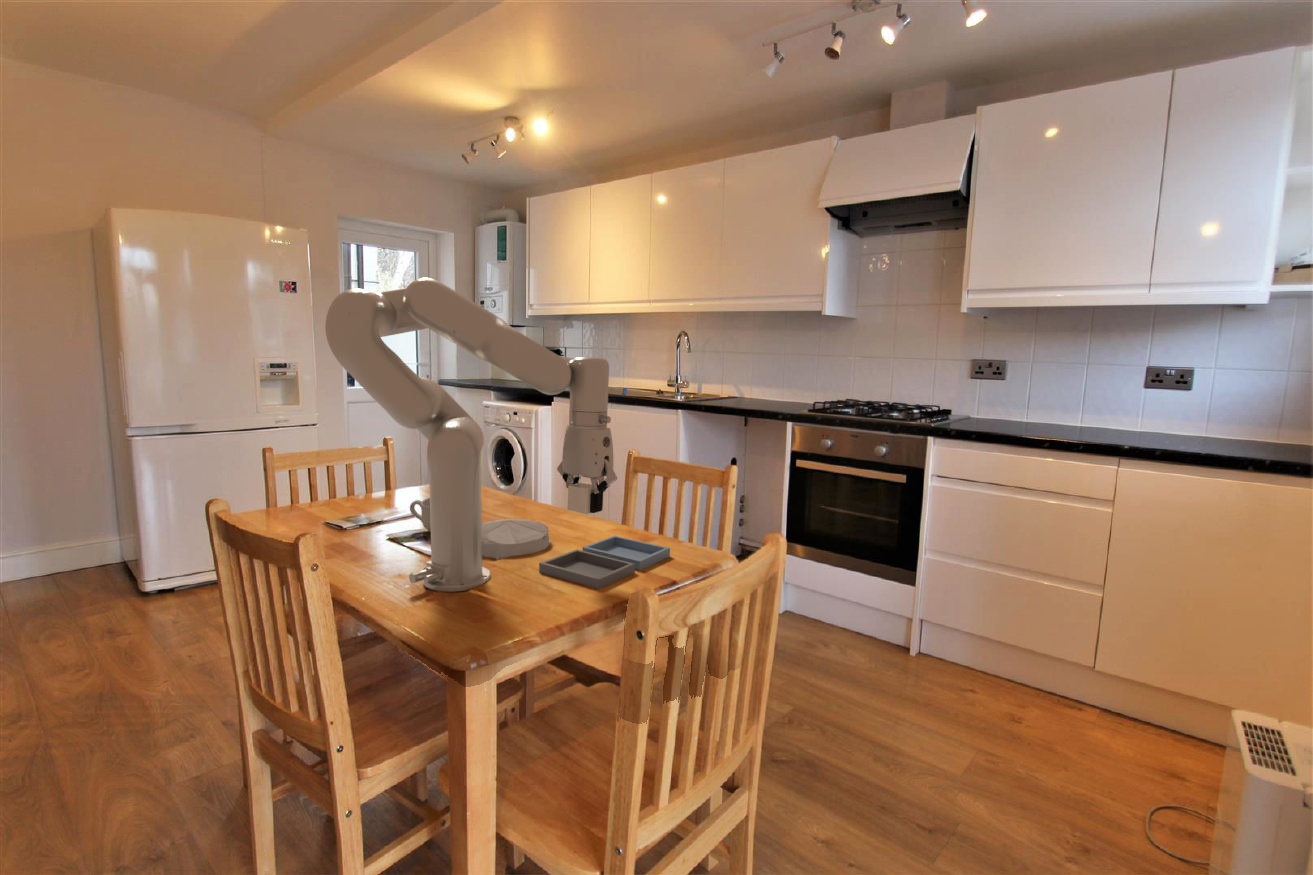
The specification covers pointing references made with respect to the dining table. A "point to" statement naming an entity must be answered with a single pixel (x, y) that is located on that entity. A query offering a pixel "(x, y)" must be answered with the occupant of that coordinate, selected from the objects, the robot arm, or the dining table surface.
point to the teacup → (425, 512)
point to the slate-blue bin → (629, 551)
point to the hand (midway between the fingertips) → (585, 508)
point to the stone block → (580, 497)
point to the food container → (513, 538)
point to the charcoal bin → (587, 568)
